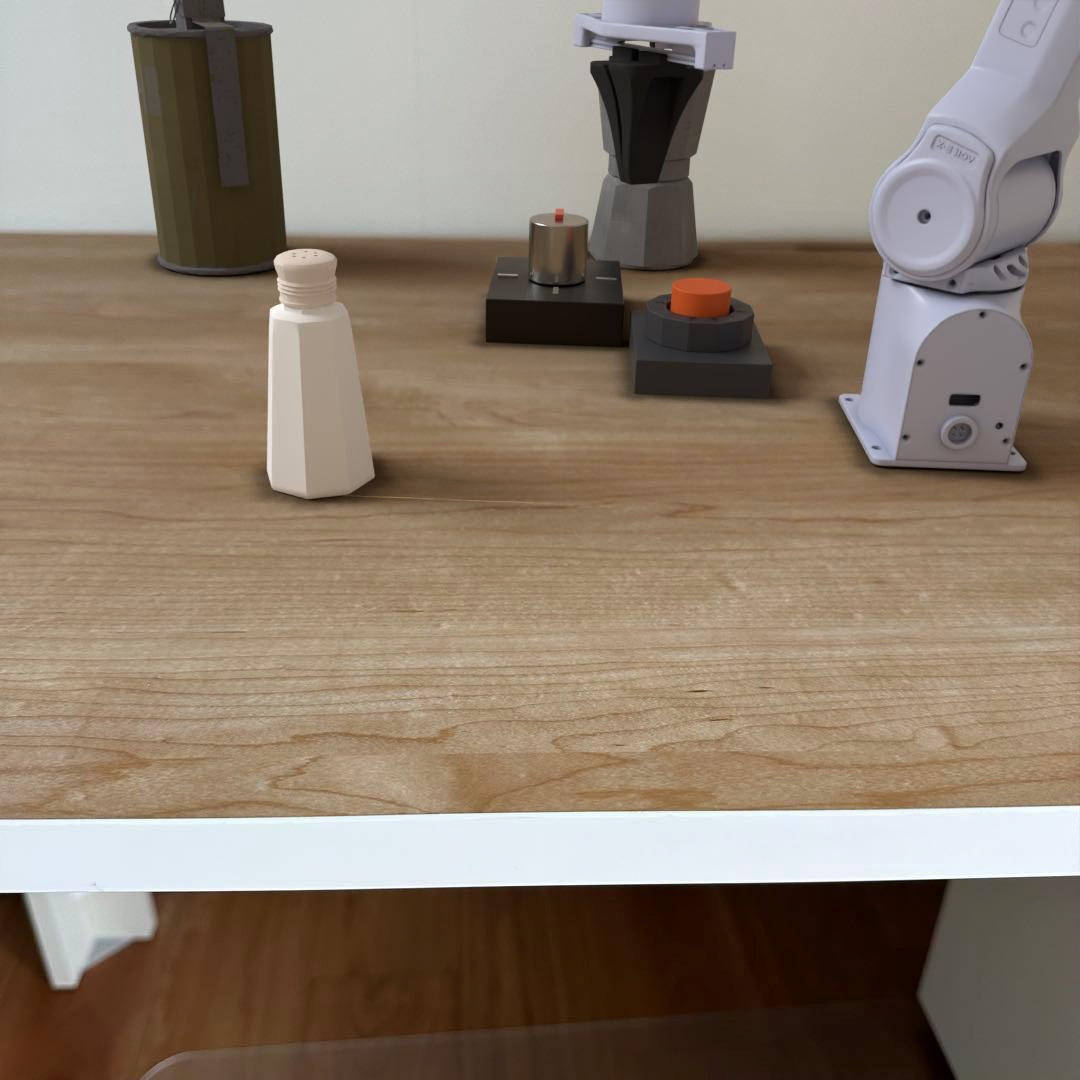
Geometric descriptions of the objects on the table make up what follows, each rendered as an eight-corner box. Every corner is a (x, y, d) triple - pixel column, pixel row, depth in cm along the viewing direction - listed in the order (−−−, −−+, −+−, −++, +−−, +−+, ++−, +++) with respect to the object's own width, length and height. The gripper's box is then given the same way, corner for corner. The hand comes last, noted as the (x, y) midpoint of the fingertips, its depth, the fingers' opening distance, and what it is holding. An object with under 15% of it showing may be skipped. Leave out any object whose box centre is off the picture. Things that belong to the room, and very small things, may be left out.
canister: (146, 250, 94) (109, -19, 84) (270, 239, 98) (247, -18, 89) (175, 283, 86) (138, -12, 76) (309, 269, 90) (289, -11, 81)
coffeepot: (702, 279, 90) (725, 33, 82) (584, 274, 91) (595, 28, 82) (693, 234, 104) (712, 19, 96) (590, 230, 104) (601, 15, 96)
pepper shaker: (338, 445, 60) (325, 234, 55) (397, 480, 56) (389, 258, 51) (245, 471, 57) (221, 250, 51) (300, 510, 53) (281, 277, 48)
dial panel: (621, 348, 75) (624, 301, 74) (485, 343, 75) (485, 296, 74) (617, 300, 85) (620, 258, 83) (497, 296, 85) (497, 254, 83)
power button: (731, 323, 69) (735, 294, 68) (672, 321, 69) (674, 292, 68) (725, 305, 72) (728, 278, 71) (668, 303, 72) (670, 276, 71)
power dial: (585, 286, 77) (588, 222, 75) (526, 284, 77) (528, 220, 75) (585, 271, 80) (588, 209, 78) (529, 269, 80) (530, 207, 78)
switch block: (768, 400, 67) (777, 334, 65) (633, 394, 68) (638, 329, 66) (747, 345, 76) (754, 287, 74) (628, 341, 76) (632, 282, 74)
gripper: (791, -59, 61) (761, 200, 68) (645, -64, 72) (631, 158, 79) (682, -62, 58) (661, 209, 65) (548, -66, 69) (541, 164, 76)
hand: (638, 182), depth 71 cm, fingers closed
